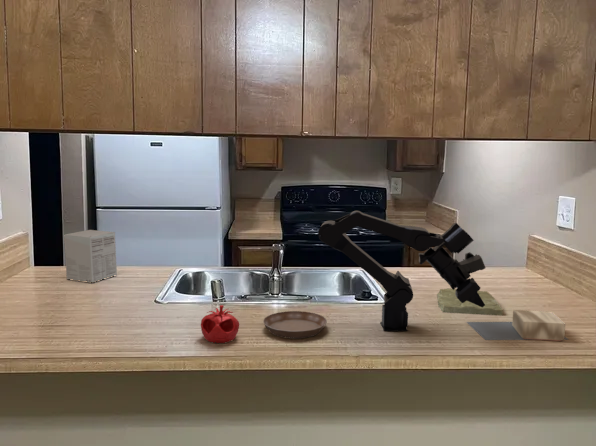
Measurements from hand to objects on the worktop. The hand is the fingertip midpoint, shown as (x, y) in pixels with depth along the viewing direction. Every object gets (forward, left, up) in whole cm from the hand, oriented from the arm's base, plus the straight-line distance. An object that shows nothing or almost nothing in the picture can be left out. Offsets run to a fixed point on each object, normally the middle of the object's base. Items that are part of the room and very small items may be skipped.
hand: (483, 305), depth 142 cm
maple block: (+9, -2, -4) cm, 10 cm away
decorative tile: (+4, +24, -8) cm, 26 cm away
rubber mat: (+9, 0, -8) cm, 12 cm away
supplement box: (-128, +60, -8) cm, 142 cm away
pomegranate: (-72, -4, -8) cm, 72 cm away
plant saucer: (-52, +3, -8) cm, 53 cm away
